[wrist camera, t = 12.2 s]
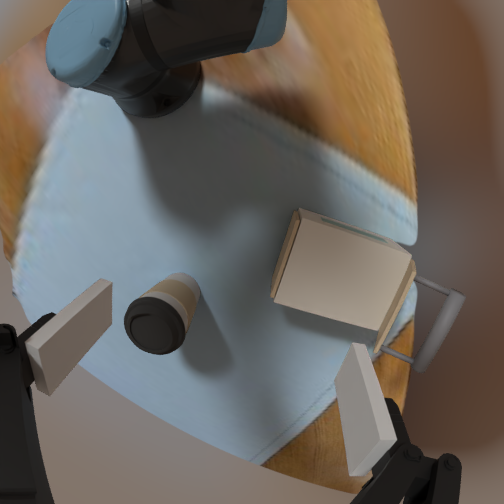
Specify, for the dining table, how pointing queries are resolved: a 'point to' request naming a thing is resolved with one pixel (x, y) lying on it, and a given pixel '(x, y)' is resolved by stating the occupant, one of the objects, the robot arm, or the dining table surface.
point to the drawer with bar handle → (438, 328)
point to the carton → (338, 270)
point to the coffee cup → (163, 314)
